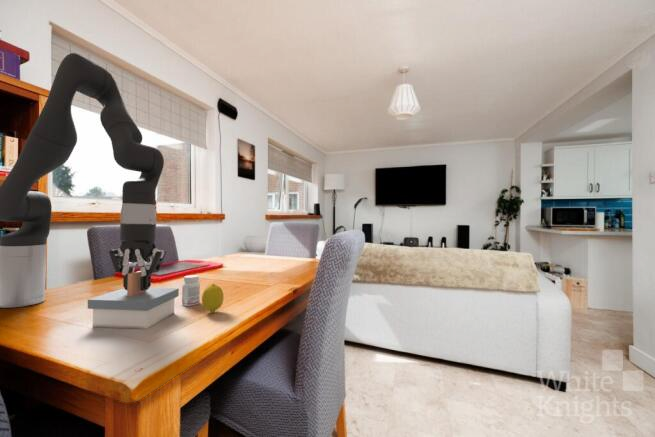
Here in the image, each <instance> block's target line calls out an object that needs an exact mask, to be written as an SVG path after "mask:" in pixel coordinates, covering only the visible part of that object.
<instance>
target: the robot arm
mask: <svg viewBox="0 0 655 437" xmlns="http://www.w3.org/2000/svg"><path fill="white" fill-rule="evenodd" d="M76 92H77V93H79V94H82V95H84V96H86V97H89V98H91V99H95V100H96V101H97V102H98V103H99V104H100V105H101V106H102V109H101V111H100V114H99V115H100V116H99V118H100V122H101V123H100V124H101V125H102V127H103V129H104V131H105V133H106V134H107V136H108V137H109V139H110V141H111V148H112V153H113V154H112V155H113V159H114V161H115V163H116V164H117V165H118V166H120V167H121V168H123V169H124V170H128V171H134V172H139V173H140V175H139V177H138V179H132V180H131V179H129V180H126V181H124V183H122V184H123V185H122V192H121V194H122V198H121V200H122V201H121V202H122V204H121V210H120V220H119V221H120V224H119V225H120V229H119V231H120V233H119V240H120V241H121V244H120V245H119V247H118V248H116V249H110V250H108V251H109V252H108V253H109V257H110V259H111V262H112V264H113V265H112V266H113V269H114V271H115V273H120V274H122V277H123V280H122V282H123V283H122V287H123V288H125V290H127V285H128V274H129V273H133V272H135V269H136V265H138V267H139V268H140V271H141V274H142V276H141V288H140V289H141V291H145V290H147V289H149V288H151V286H152V275H153V274H155V273H158V272H160V269H161V267H162V264H163V261H164V259H165V257H166V254H167V251H166V250H165V249H164V250H161V249H158V248H157V246H156V244H155V241H156V238H157V234H156V233H157V210H156V199H157V198H156V190H157V186H158V184H159V181H160V178H161V175H162V172H163V169H164V165H165V161H164V160H165V159H164V156H163V153H162V152H161V151H160V150H159V149H158V148H156V147H153V146H150V145H146V144H143V143H142V142H143V134H142V132H141V130H140V128H139V127H138V126H137V124H136V123H135V121H134V120H133V118H132V116H131V115H130V114H129V111H128V110H127V108H126V106H125V102H124V100H123V97H122V95H121V93H120V89H119V87H118V84H117V82H116V80H115V78H114V76H113V75H112V74H111V72H110V71H108V70H107V69H106V68H104V67H103V66H100V65H99V64H97V63H95V62H93V61H91V60H90V59H88V58H86V57H84V56H83V55H82V54H81V55H80V54H79V53H76V52H72V53H69V54H67V55H66V56H64V58H63V59H62V61H61V62H60V64H59V66H58V68H57V71H56V73H55V76H54V79H53V82H52V85H51V87H50V89H49V93H48V96H47V99H46V101H45V103H44V105H43V107H42V109H41V111H40V114H39V116H38V117H37V119H36V121H35V123H34V124H33V127H32V128H31V130H30V132H29V133H28V137H27V138H26V141H25V143H24V145H23V147H22V150H21V152H20V153H19V155H18V157H17V159H16V161H15V163H14V165H13V166H12V168H11V170H10V171H9V173H8V174H7V175H6V178H5V179H4V180H3V181H2V183H1V184H0V221H1V222H11V223H12V222H14V223H15V222H18V223H21V222H22V224H21V225H22V226H21V227H20V228H18V229H17V230H16V229H15V231H12V232H9V233H6V234H3V235H2V236H0V308H1V309H7V308H9V309H11V308H21V307H26V306H31V305H33V306H34V305H36V304H40V303H42V302H44V301H46V276H47V274H46V273H47V272H46V271H47V270H46V268H47V267H46V266H47V241H48V237H49V235H50V231H51V220H52V211H53V210H52V208H53V207H52V202H51V199H50V197H49V195H47V194H46V193H45V192H43V191H34V190H31V189H32V188H33V186H34V185H35V184H36V183H37V182H38V181H39V180H40V179H41V178H44V177H45V176H46V175H48V174H50V173H52V172H54V171H55V170H56V169H58V168H60V167H61V166H63V165H64V164H65V163H66V162H67V161H68V160H69V159H70V157H71V155H72V152H73V151H74V149H75V146H76V145H77V142H78V133H77V129H76V125H75V122H74V119H73V114H72V113H73V112H72V104H73V101H74V98H75V94H76ZM152 257H153V258H152Z"/></svg>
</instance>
